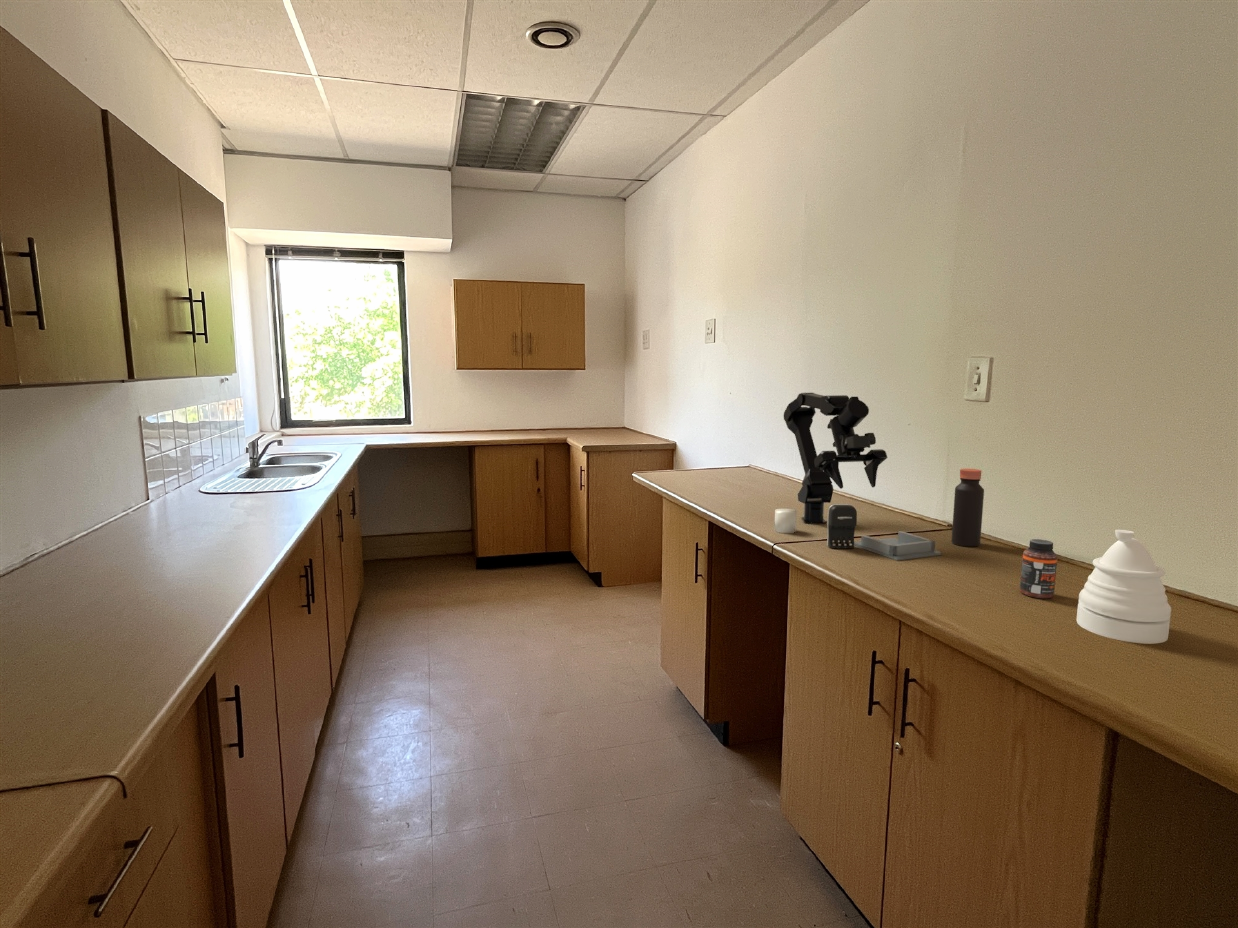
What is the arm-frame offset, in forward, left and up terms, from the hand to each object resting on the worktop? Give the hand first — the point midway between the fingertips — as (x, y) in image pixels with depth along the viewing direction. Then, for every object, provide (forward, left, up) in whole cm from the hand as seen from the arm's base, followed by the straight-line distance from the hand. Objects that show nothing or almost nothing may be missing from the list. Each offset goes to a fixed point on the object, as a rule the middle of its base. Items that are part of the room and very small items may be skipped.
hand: (857, 487), depth 170 cm
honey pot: (+55, +34, -15) cm, 66 cm away
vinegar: (-2, +29, -15) cm, 33 cm away
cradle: (+6, +9, -15) cm, 18 cm away
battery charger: (+6, -5, -15) cm, 17 cm away
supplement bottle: (+38, +28, -15) cm, 50 cm away
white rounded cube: (-11, -17, -15) cm, 25 cm away
